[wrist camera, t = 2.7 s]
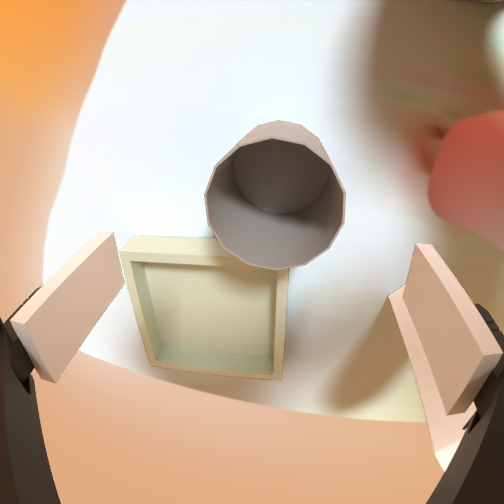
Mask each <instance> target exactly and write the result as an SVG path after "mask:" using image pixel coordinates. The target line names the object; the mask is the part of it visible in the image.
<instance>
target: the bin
mask: <svg viewBox="0 0 504 504" xmlns="http://www.w3.org/2000/svg"><path fill="white" fill-rule="evenodd" d="M119 252H120V257H121V261H122V265H123V270H124V274H125V278H126V282H127V286H128V290H129V294H130V298H131V302H132V306H133V309H134V313H135V316H136V320H137V324H138V327H139V330H140V334H141V337H142V341H143V344H144V347H145V350H146V353H147V357H148V360H149V363H150V366H154V367H160V368H166V369H173V370H180V371H187V372H194V373H202V374H211V375H219V376H229V377H240V378H251V379H265V380H281V381H282V371H283V358H284V344H285V329H286V313H287V296H288V278H289V268H287V269H281V270H272V269H267V268H262V267H257V266H252V265H248V264H246V263H245V262H243V261H242V260H240V259H239V258H237V257H236V256H234V255H233V254H231V253H230V252H228V251H227V250H225V249H224V248H223V247H222V245H221V244H220V242H219V241H218V239H217V238H199V237H169V236H136V235H134V236H133V237H132V238H131V239H130V240H129V241H128V242H127V243H126V245H125V246H124V247H123V248H122V249H121V250H120V251H119Z"/></svg>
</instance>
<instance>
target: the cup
mask: <svg viewBox="0 0 504 504" xmlns="http://www.w3.org/2000/svg"><path fill="white" fill-rule="evenodd" d="M204 197H205V206H206V214H207V222H208V225H209V227H210V228H211V230H212V231H213V233H214V234H215V236H216V237H217V239H218V241H219V242H220V244H221V245H222V247H223V248H224V249H225V250H227V251H228V252H230V253H231V254H233V255H234V256H236V257H237V258H239V259H240V260H242V261H243V262H245V263H246V264H248V265H252V266H257V267H262V268H267V269H272V270H281V269H287V268H292V267H297V266H302V265H306V264H308V263H309V262H310V261H312V260H313V259H315V258H316V257H318V256H319V255H321V254H322V253H324V252H325V251H326V250H328V249H329V248H330V247H331V245H332V243H333V242H334V240H335V238H336V236H337V235H338V233H339V231H340V230H341V228H342V226H343V224H344V218H345V197H346V192H345V190H344V188H343V186H342V184H341V182H340V179H339V177H338V175H337V173H336V171H335V169H334V167H333V165H332V163H331V161H330V159H329V157H328V155H327V153H326V151H325V149H324V147H323V145H322V143H321V142H320V140H319V138H318V137H316V136H315V135H314V134H313V133H311V132H310V131H309V130H307V129H306V128H305V127H303V126H302V125H300V124H295V123H290V122H285V121H280V120H278V121H274V122H270V123H266V124H262V125H259V126H257V127H255V128H254V129H253V130H252V131H251V132H250V133H248V134H247V135H246V136H245V137H244V138H243V139H242V140H240V141H239V142H238V143H237V144H236V145H235V146H234V147H233V148H232V149H231V150H230V151H229V152H228V153H227V154H226V155H225V156H224V157H223V158H222V159H221V160H220V161H219V162H218V163H217V164H216V165H215V167H214V170H213V172H212V175H211V178H210V180H209V183H208V186H207V188H206V191H205V194H204Z"/></svg>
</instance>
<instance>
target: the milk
mask: <svg viewBox="0 0 504 504" xmlns="http://www.w3.org/2000/svg"><path fill="white" fill-rule="evenodd" d="M405 285H406V284H405ZM405 285H403V286H402V287H400V288H399V289H397V290H396V291H394V292H393V293H392V294H390V295H389V296H388V297H389V300H390V303H391V305H392V308H393V311H394V314H395V317H396V320H397V323H398V325H399V328H400V331H401V334H402V337H403V340H404V344H405V347H406V350H407V353H408V356H409V359H410V363H411V366H412V369H413V373H414V376H415V379H416V383H417V387H418V390H419V394H420V397H421V401H422V405H423V409H424V413H425V417H426V421H427V425H428V429H429V433H430V437H431V442H432V447H433V451H434V455H435V456H436V458H437V460H438V462H439V463H440V465H441V467H442V469H443V471H444V472H445V471H446V469H447V467H448V465H449V463H450V461H451V460H452V458H453V456H454V454H455V452H456V450H457V448H458V446H459V444H460V442H461V440H462V437H463V435H464V433H465V431H466V429H467V428H466V429H465V430H463V429H462V428H463V427H464V426H465V424H466V423H467V422H468V421H469V419H470V418H471V417H472V415H473V414H474V413H475V411H476V410H477V409H476V407H475V404H474V401H473V402H472V404H471V405H470V407H469V408H468V409H467V411H466V412H465V413H460V414H454V415H448V416H446V412H445V409H444V406H443V403H442V400H441V397H440V394H439V391H438V388H437V385H436V382H435V379H434V376H433V373H432V371H431V368H430V365H429V362H428V360H427V357H426V354H425V352H424V349H423V346H422V344H421V341H420V339H419V336H418V334H417V331H416V329H415V326H414V324H413V321H412V319H411V317H410V314H409V312H408V310H407V307H406V305H405V303H404V300H403V298H402V296H403V292H404V288H405Z"/></svg>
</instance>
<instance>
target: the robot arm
mask: <svg viewBox="0 0 504 504" xmlns="http://www.w3.org/2000/svg"><path fill="white" fill-rule="evenodd" d="M470 1H474V2H479V3H496V2H499V1H503V0H470ZM124 284H125V282H124V278H123V274H122V269H121V265H120V261H119V256H118V252H117V247H116V242H115V237H114V232H99V233H98V234H97V235H96V236H95V237H94V238H93V239H91V240H90V241H89V242H88V243H87V244H86V245H85V246H84V247H83V248H81V249H80V250H79V251H78V252H77V253H76V254H75V255H74V256H73V257H72V258H71V259H70V260H69V261H67V262H66V263H65V264H64V265H63V266H62V267H61V268H60V269H59V270H58V271H57V272H56V273H55V274H54V275H53V276H52V277H51V278H50V279H49V280H48V281H47V282H46V283H45V284H44V285H42V286H41V287H39V288H38V289H36V290H35V291H34V292H33V293H32V294H31V295H30V296H29V298H28V299H26V300H25V301H24V302H23V305H21V306H20V307H19V308H18V309H17V310H16V311H15V312H14V313H13V314H12V315H11V316H10V317H9V318H8V320H7V321H6V322H5V323H4V324H3V322H2V320H1V318H0V504H61V503H60V500H59V497H58V494H57V490H56V487H55V483H54V480H53V476H52V473H51V469H50V465H49V461H48V457H47V453H46V448H45V444H44V439H43V434H42V429H41V424H40V418H39V412H38V406H37V399H36V392H35V384H34V379H33V377H32V375H31V372H32V370H33V369H34V367H35V369H36V371H37V372H38V374H39V375H40V377H41V379H44V380H47V381H50V382H53V383H57V381H58V379H59V378H60V376H61V375H62V373H63V372H64V370H65V369H66V367H67V365H68V364H69V363H70V361H71V359H72V358H73V357H74V355H75V354H76V352H77V351H78V349H79V348H80V346H81V345H82V343H83V342H84V340H85V339H86V337H87V336H88V334H89V333H90V332H91V330H92V329H93V327H94V326H95V324H96V323H97V322H98V320H99V319H100V317H101V316H102V314H103V313H104V312H105V310H106V309H107V308H108V306H109V305H110V303H111V302H112V301H113V299H114V298H115V297H116V295H117V294H118V292H119V291H120V290H121V288H122V287H123V286H124ZM402 298H403V300H404V303H405V305H406V307H407V310H408V312H409V314H410V317H411V319H412V321H413V324H414V326H415V329H416V331H417V334H418V336H419V339H420V341H421V344H422V346H423V349H424V352H425V354H426V357H427V360H428V362H429V365H430V368H431V371H432V373H433V376H434V379H435V382H436V385H437V388H438V391H439V394H440V397H441V400H442V403H443V406H444V409H445V412H446V416H448V415H454V414H460V413H465V412H466V411H467V409H468V408H469V407H470V405H471V404H472V402H473V401H474V404H475V407H476V409H477V410H476V411H475V413H474V414H473V415H472V417H471V418H470V419H469V421H468V422H467V423H466V424H465V426H464V427H463V428H462V429H463V430H465V429H466V428H467V429H466V431H465V433H464V435H463V437H462V440H461V442H460V444H459V446H458V448H457V450H456V452H455V454H454V456H453V458H452V460H451V461H450V463H449V465H448V467H447V469H446V471H445V473H444V474H443V476H442V478H441V480H440V481H439V483H438V485H437V486H436V488H435V490H434V492H433V493H432V495H431V496H430V498H429V500H428V501H427V503H426V504H504V336H503V334H502V332H501V331H499V328H498V326H497V324H496V323H494V322H495V321H494V320H493V318H492V317H491V315H490V314H489V312H488V311H487V310H486V309H484V308H483V307H482V306H481V305H480V304H473V302H472V301H471V299H470V298H469V296H468V295H467V293H466V292H465V290H464V289H463V287H462V286H461V284H460V283H459V282H458V280H457V279H456V277H455V276H454V274H453V273H452V272H451V270H450V269H449V267H448V266H447V265H446V263H445V262H444V261H443V259H442V258H441V257H440V255H439V254H438V253H437V251H436V250H435V249H434V247H433V246H432V245H431V244H424V243H415V247H414V252H413V256H412V260H411V265H410V269H409V273H408V277H407V281H406V285H405V288H404V292H403V296H402Z"/></svg>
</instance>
